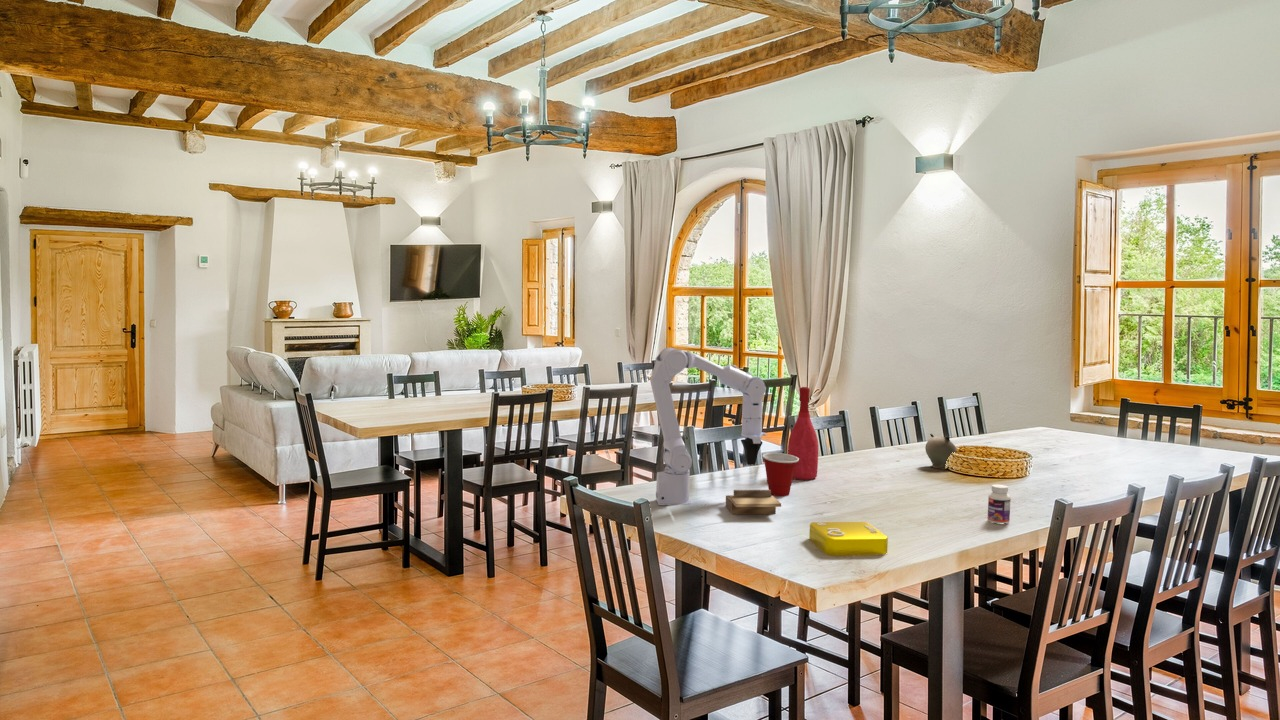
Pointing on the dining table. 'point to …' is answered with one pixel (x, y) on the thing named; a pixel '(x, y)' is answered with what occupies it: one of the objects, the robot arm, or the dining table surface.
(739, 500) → the lid
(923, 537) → the dining table surface
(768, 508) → the walnut box
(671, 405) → the robot arm
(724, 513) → the dining table surface
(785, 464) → the plastic cup
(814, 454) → the wine bottle
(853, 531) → the element tile
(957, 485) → the dining table surface
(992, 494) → the pill bottle
